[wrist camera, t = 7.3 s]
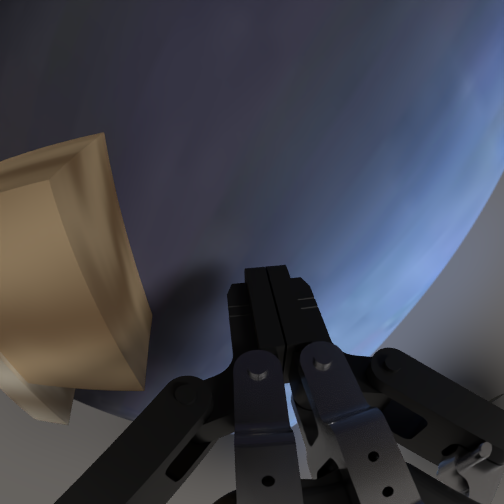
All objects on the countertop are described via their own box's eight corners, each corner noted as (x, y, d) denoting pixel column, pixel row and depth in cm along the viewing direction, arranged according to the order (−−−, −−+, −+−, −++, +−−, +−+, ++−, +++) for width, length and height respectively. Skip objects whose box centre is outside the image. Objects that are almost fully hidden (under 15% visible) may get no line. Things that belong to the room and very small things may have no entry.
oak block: (-15, 166, 9) (-78, 220, 5) (105, 131, 10) (48, 179, 6) (51, 316, 15) (28, 383, 11) (152, 312, 16) (144, 390, 12)
